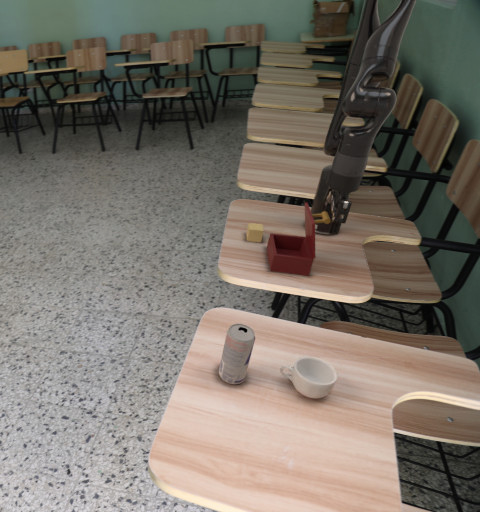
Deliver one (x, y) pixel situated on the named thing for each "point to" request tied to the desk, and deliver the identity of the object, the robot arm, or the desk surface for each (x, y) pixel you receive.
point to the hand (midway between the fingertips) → (329, 226)
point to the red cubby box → (289, 254)
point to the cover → (313, 226)
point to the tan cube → (255, 232)
